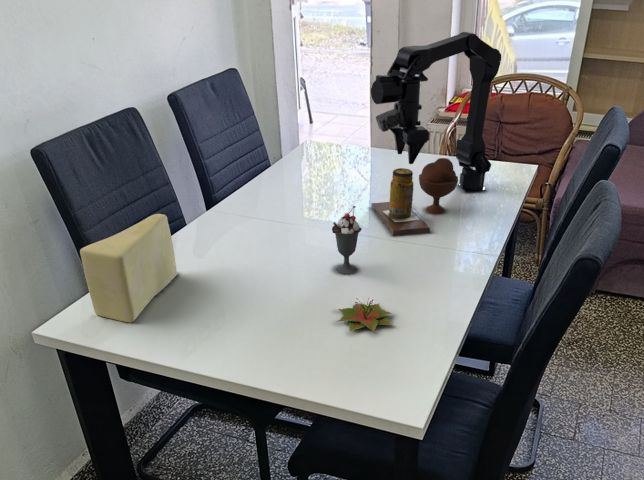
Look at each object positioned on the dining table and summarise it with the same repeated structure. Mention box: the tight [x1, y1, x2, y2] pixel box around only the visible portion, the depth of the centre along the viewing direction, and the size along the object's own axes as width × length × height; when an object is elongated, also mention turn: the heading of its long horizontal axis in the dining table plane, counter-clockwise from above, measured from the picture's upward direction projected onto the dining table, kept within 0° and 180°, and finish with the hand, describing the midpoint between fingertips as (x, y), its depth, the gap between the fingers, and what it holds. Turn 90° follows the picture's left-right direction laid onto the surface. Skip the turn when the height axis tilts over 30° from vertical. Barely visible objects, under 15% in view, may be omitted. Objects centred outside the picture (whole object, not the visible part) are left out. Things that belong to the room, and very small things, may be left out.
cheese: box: [79, 213, 178, 323], centre depth 134 cm, size 22×10×15 cm, turn 159°
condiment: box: [383, 167, 419, 222], centre depth 172 cm, size 7×8×12 cm
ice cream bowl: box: [418, 157, 459, 215], centre depth 179 cm, size 11×11×15 cm
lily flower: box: [337, 295, 394, 333], centre depth 130 cm, size 12×12×5 cm
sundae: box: [331, 205, 363, 275], centre depth 147 cm, size 7×7×15 cm
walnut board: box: [371, 201, 431, 237], centre depth 176 cm, size 10×20×2 cm, turn 15°
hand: (405, 158), depth 180 cm, fingers open, 9 cm apart
